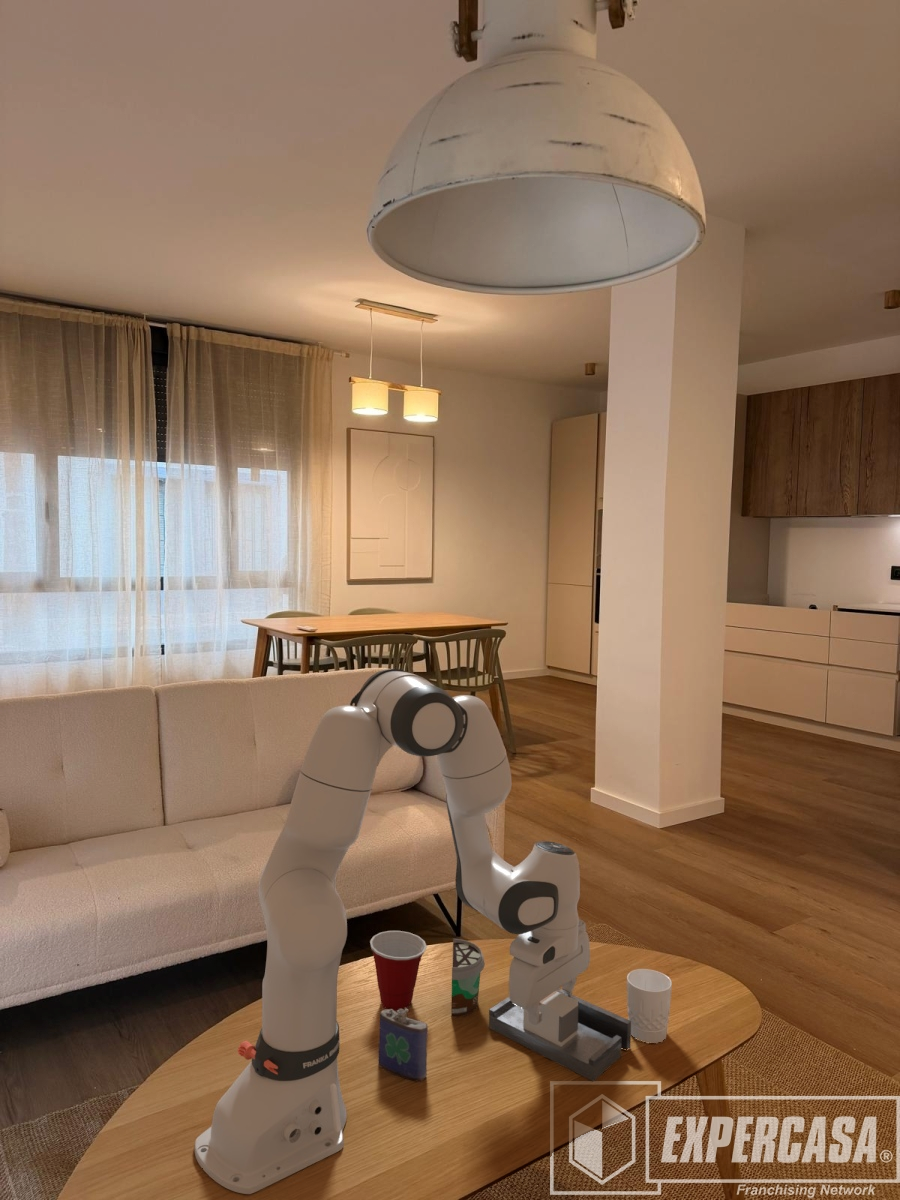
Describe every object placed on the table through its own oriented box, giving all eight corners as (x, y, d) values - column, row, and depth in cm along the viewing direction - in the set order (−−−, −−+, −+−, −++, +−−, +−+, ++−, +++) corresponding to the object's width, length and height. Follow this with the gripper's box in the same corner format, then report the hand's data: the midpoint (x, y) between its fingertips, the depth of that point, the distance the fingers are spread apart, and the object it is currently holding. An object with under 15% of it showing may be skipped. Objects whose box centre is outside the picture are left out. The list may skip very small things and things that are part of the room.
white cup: (668, 1050, 143) (670, 995, 143) (622, 1040, 146) (624, 986, 145) (671, 1025, 151) (673, 973, 150) (627, 1017, 153) (629, 965, 153)
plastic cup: (424, 1019, 151) (425, 956, 150) (366, 1018, 151) (367, 955, 150) (426, 988, 162) (427, 929, 161) (372, 987, 162) (372, 928, 161)
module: (561, 1047, 139) (562, 1012, 139) (523, 1028, 145) (523, 995, 144) (577, 1034, 143) (578, 1000, 143) (539, 1016, 149) (540, 983, 148)
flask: (429, 1075, 135) (430, 1013, 134) (419, 1085, 133) (420, 1021, 132) (383, 1057, 140) (384, 996, 139) (373, 1066, 137) (374, 1004, 137)
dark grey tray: (593, 1081, 134) (594, 1052, 134) (488, 1028, 149) (489, 1001, 149) (630, 1048, 143) (631, 1021, 143) (528, 1001, 158) (529, 976, 158)
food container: (484, 1022, 151) (485, 970, 150) (451, 1021, 151) (452, 969, 150) (483, 987, 163) (484, 938, 162) (452, 986, 163) (453, 937, 162)
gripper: (570, 910, 153) (568, 982, 154) (503, 948, 138) (501, 1028, 138) (599, 921, 149) (597, 994, 150) (533, 961, 133) (531, 1043, 134)
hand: (550, 1011), depth 144 cm, fingers open, 8 cm apart
